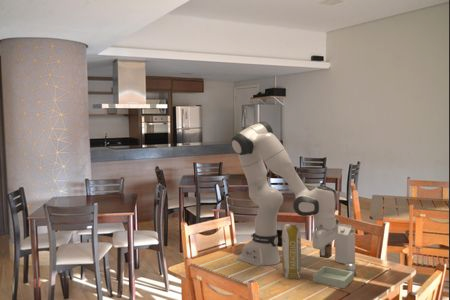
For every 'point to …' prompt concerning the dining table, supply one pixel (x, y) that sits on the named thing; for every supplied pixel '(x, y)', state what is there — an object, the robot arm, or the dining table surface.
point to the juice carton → (291, 251)
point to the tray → (333, 276)
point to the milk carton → (345, 244)
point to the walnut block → (327, 252)
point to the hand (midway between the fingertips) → (325, 253)
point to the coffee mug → (279, 235)
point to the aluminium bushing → (351, 267)
